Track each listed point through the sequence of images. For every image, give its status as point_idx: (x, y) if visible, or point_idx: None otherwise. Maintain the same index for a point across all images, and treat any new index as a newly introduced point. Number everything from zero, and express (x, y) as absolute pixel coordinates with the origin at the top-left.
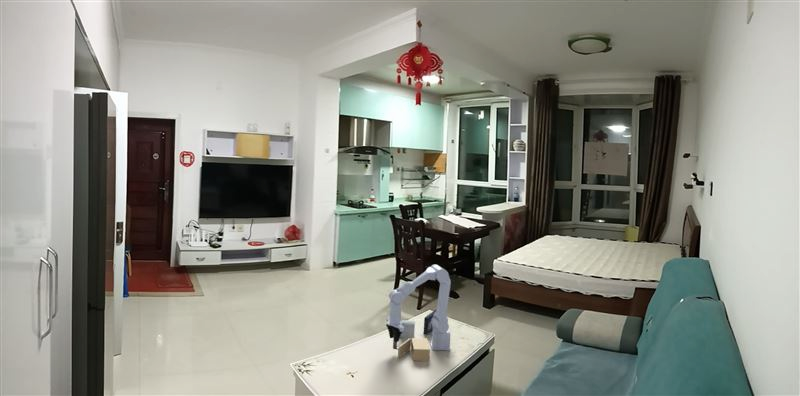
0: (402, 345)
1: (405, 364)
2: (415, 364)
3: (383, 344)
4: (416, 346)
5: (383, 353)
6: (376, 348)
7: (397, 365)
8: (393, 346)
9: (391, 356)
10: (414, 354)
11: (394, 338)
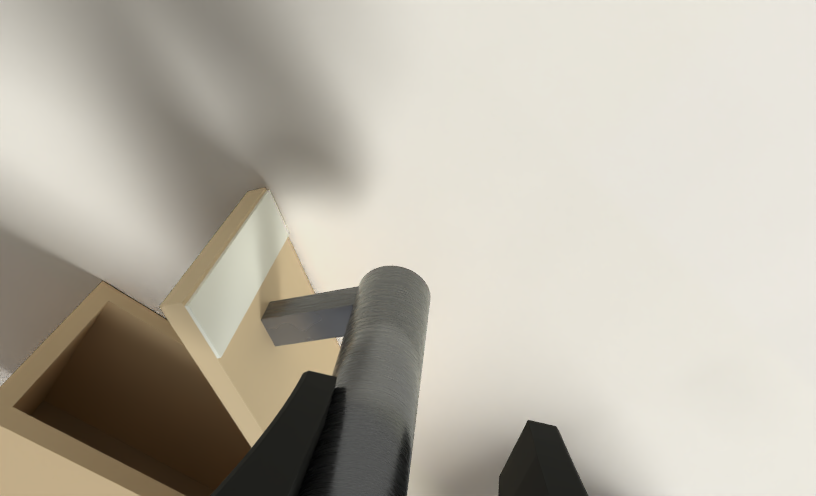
0: (228, 392)
1: (46, 138)
2: (5, 238)
3: (745, 310)
4: (53, 484)
5: (537, 109)
6: (774, 138)
7: (56, 10)
8: (388, 295)
9: (364, 144)
10: (39, 351)
11: (285, 438)
